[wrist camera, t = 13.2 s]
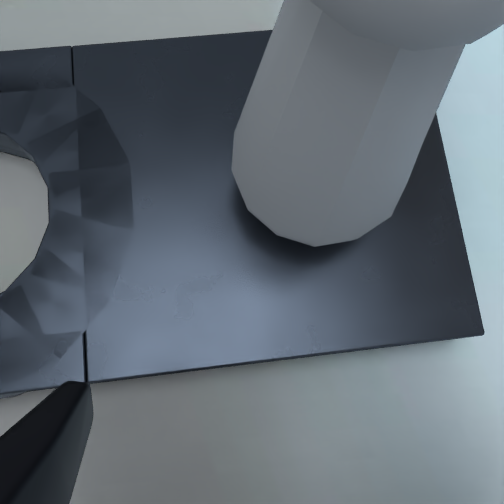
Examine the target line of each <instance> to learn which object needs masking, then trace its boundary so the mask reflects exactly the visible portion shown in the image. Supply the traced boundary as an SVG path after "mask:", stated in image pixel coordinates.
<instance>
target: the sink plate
mask: <svg viewBox="0 0 504 504" xmlns="http://www.w3.org/2000/svg"><path fill="white" fill-rule="evenodd" d="M272 31H273V30H266V31H254V32H242V33H229V34H217V35H204V36H192V37H179V38H167V39H155V40H142V41H130V42H117V43H105V44H92V45H80V46H73V47H71V46H62V47H50V48H38V49H25V50H13V51H0V151H2V152H5V153H9V154H13V155H16V156H20V157H23V158H27V159H30V160H32V161H33V162H34V163H35V164H36V165H37V167H38V169H39V171H40V173H41V175H42V177H43V179H44V181H45V183H46V185H47V187H48V212H49V224H48V226H47V229H46V231H45V234H44V236H43V239H42V242H41V244H40V247H39V249H38V252H37V254H36V257H35V259H34V260H33V261H32V262H31V263H30V265H29V266H28V267H27V268H26V269H25V270H24V271H23V272H22V273H21V274H20V275H19V276H18V278H17V279H16V280H15V281H14V282H13V283H12V284H11V285H10V286H9V287H8V288H7V289H6V291H4V292H2V293H0V399H2V398H8V397H14V396H18V395H21V394H22V393H24V392H28V391H36V390H44V389H52V388H58V387H59V386H60V385H61V384H63V383H64V382H66V381H79V382H86V383H88V384H93V383H101V382H109V381H117V380H125V379H133V378H141V377H149V376H158V375H166V374H174V373H182V372H190V371H198V370H206V369H214V368H222V367H231V366H239V365H247V364H255V363H263V362H271V361H279V360H287V359H295V358H304V357H312V356H320V355H328V354H336V353H344V352H352V351H360V350H368V349H377V348H385V347H393V346H401V345H409V344H417V343H425V342H433V341H441V340H450V339H458V338H466V337H474V336H482V335H484V329H483V324H482V320H481V315H480V311H479V306H478V301H477V297H476V292H475V288H474V283H473V279H472V274H471V270H470V265H469V260H468V256H467V251H466V247H465V242H464V238H463V233H462V229H461V224H460V220H459V215H458V210H457V206H456V201H455V197H454V192H453V188H452V183H451V179H450V174H449V170H448V165H447V160H446V156H445V151H444V147H443V142H442V138H441V133H440V129H439V124H438V119H437V115H436V114H435V116H434V118H433V121H432V123H431V125H430V127H429V130H428V132H427V134H426V137H425V139H424V141H423V144H422V146H421V149H420V151H419V154H418V157H417V159H416V162H415V164H414V167H413V169H412V172H411V175H410V177H409V180H408V182H407V184H406V186H405V189H404V191H403V193H402V195H401V197H400V199H399V201H398V203H397V205H396V207H395V209H394V211H393V213H392V215H391V217H390V218H388V219H387V220H385V221H384V222H382V223H381V224H379V225H378V226H376V227H375V228H373V229H372V230H370V231H369V232H367V233H366V234H364V235H363V236H361V237H360V238H358V239H355V240H352V241H346V242H340V243H334V244H328V245H322V246H316V247H314V246H311V245H307V244H304V243H301V242H298V241H294V240H291V239H288V238H285V237H281V236H278V235H276V234H275V233H274V232H273V231H271V230H270V229H269V228H268V227H267V226H266V225H265V224H263V223H262V222H261V221H260V220H259V219H258V218H256V217H255V216H254V215H253V214H252V213H251V212H249V211H248V209H247V207H246V204H245V202H244V200H243V197H242V195H241V192H240V190H239V188H238V185H237V183H236V180H235V178H234V176H233V173H232V170H231V169H232V155H233V141H234V132H235V129H236V126H237V124H238V121H239V119H240V116H241V113H242V111H243V108H244V105H245V103H246V100H247V97H248V95H249V92H250V89H251V87H252V84H253V81H254V79H255V76H256V73H257V71H258V68H259V65H260V63H261V60H262V58H263V55H264V52H265V50H266V47H267V44H268V42H269V39H270V36H271V34H272Z"/></svg>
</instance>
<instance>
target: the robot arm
mask: <svg viewBox="0 0 504 504" xmlns="http://www.w3.org/2000/svg"><path fill="white" fill-rule="evenodd" d="M92 421H93V404H92V395H91V387H90V385H89V384H88V383H86V382H79V381H66V382H64V383H63V384H61V385H60V386H59V387H58V388H57V389H56V390H54V391H53V392H52V393H51V394H50V395H49V396H47V397H46V398H45V399H44V400H43V401H42V402H40V403H39V404H38V405H37V406H36V407H35V408H33V409H32V410H31V411H30V412H29V413H28V414H26V415H25V416H24V417H23V418H22V419H21V420H19V421H18V422H17V423H16V424H15V425H14V426H12V427H11V428H10V429H9V430H8V431H7V432H5V433H4V434H3V435H2V436H1V437H0V504H69V502H70V499H71V496H72V492H73V489H74V485H75V482H76V478H77V475H78V471H79V468H80V464H81V461H82V457H83V454H84V450H85V447H86V443H87V440H88V436H89V433H90V429H91V426H92Z"/></svg>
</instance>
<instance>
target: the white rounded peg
mask: <svg viewBox="0 0 504 504" xmlns="http://www.w3.org/2000/svg"><path fill="white" fill-rule="evenodd" d="M503 24H504V0H284V2H283V5H282V7H281V10H280V12H279V15H278V18H277V20H276V23H275V26H274V28H273V31H272V34H271V36H270V39H269V42H268V44H267V47H266V50H265V52H264V55H263V58H262V60H261V63H260V65H259V68H258V71H257V73H256V76H255V79H254V81H253V84H252V87H251V89H250V92H249V95H248V97H247V100H246V103H245V105H244V108H243V111H242V113H241V116H240V119H239V121H238V124H237V126H236V129H235V132H234V141H233V155H232V169H231V170H232V173H233V176H234V178H235V180H236V183H237V185H238V188H239V190H240V192H241V195H242V197H243V200H244V202H245V204H246V207H247V209H248V211H249V212H251V213H252V214H253V215H254V216H255V217H256V218H258V219H259V220H260V221H261V222H262V223H263V224H265V225H266V226H267V227H268V228H269V229H270V230H271V231H273V232H274V233H275V234H276V235H278V236H281V237H285V238H288V239H291V240H294V241H298V242H301V243H304V244H307V245H311V246H314V247H316V246H322V245H328V244H334V243H340V242H346V241H352V240H355V239H358V238H360V237H361V236H363V235H364V234H366V233H367V232H369V231H370V230H372V229H373V228H375V227H376V226H378V225H379V224H381V223H382V222H384V221H385V220H387V219H388V218H390V217H391V215H392V213H393V211H394V209H395V207H396V205H397V203H398V201H399V199H400V197H401V195H402V193H403V191H404V189H405V186H406V184H407V182H408V180H409V177H410V175H411V172H412V169H413V167H414V164H415V162H416V159H417V157H418V154H419V151H420V149H421V146H422V144H423V141H424V139H425V137H426V134H427V132H428V130H429V127H430V125H431V123H432V121H433V118H434V116H435V114H436V111H437V109H438V107H439V104H440V102H441V100H442V97H443V95H444V93H445V90H446V88H447V86H448V84H449V81H450V79H451V77H452V74H453V72H454V70H455V67H456V65H457V63H458V60H459V58H460V56H461V53H462V51H463V49H464V47H465V44H471V43H473V42H474V41H476V40H478V39H480V38H482V37H484V36H485V35H487V34H489V33H490V32H492V31H493V30H495V29H497V28H498V27H500V26H501V25H503Z"/></svg>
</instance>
